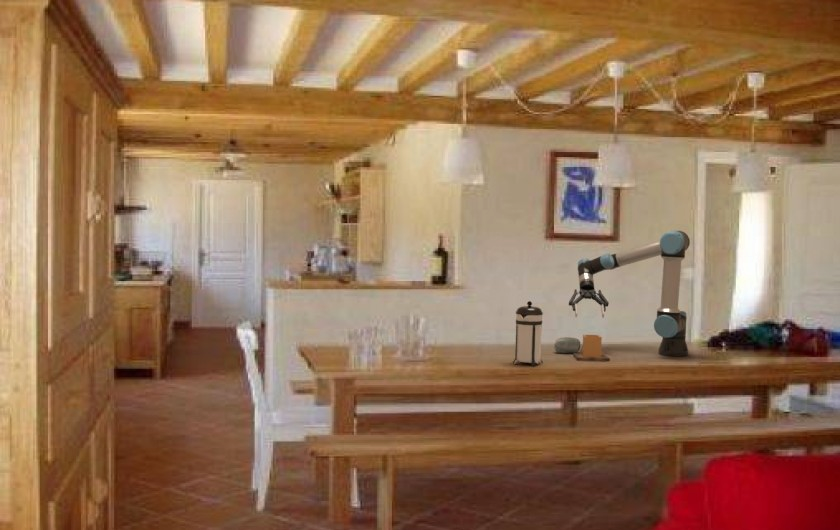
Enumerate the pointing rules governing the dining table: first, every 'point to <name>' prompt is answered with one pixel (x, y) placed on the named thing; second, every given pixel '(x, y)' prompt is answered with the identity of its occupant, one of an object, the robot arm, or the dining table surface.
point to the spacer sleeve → (592, 345)
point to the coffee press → (528, 334)
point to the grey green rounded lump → (567, 345)
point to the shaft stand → (581, 358)
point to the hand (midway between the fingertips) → (589, 315)
